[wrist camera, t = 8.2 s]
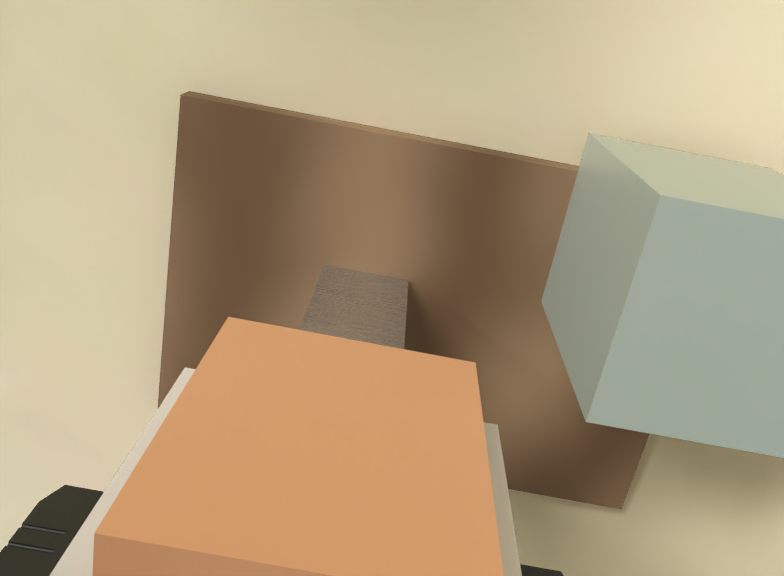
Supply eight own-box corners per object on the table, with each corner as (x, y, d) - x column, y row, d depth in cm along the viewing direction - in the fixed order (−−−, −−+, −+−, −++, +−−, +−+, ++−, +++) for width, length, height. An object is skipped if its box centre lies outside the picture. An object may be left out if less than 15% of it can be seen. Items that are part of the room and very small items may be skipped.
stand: (164, 412, 26) (156, 425, 25) (189, 91, 21) (180, 95, 21) (615, 494, 26) (621, 508, 25) (724, 194, 22) (735, 201, 21)
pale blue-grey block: (541, 301, 23) (585, 421, 16) (588, 133, 21) (660, 195, 14) (706, 332, 23) (814, 463, 16) (769, 168, 21) (919, 244, 14)
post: (312, 340, 23) (274, 453, 18) (324, 264, 22) (288, 358, 17) (392, 355, 23) (381, 473, 18) (408, 279, 22) (402, 379, 17)
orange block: (206, 517, 17) (83, 809, 11) (228, 316, 15) (93, 532, 9) (426, 557, 17) (425, 866, 11) (475, 362, 15) (508, 605, 9)
